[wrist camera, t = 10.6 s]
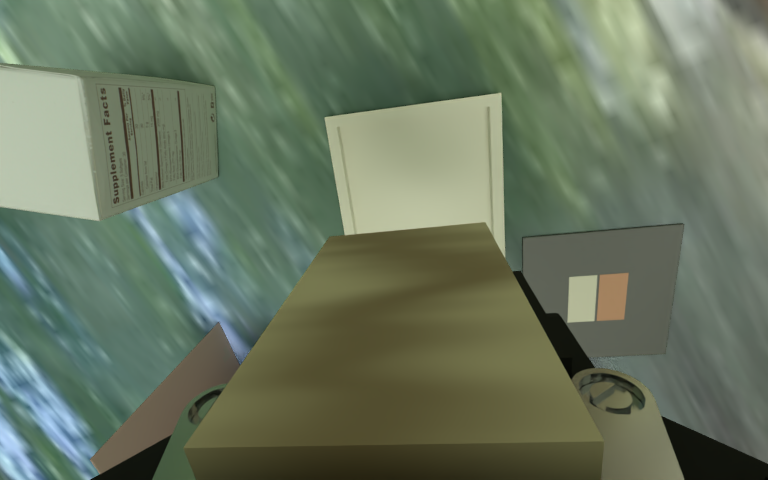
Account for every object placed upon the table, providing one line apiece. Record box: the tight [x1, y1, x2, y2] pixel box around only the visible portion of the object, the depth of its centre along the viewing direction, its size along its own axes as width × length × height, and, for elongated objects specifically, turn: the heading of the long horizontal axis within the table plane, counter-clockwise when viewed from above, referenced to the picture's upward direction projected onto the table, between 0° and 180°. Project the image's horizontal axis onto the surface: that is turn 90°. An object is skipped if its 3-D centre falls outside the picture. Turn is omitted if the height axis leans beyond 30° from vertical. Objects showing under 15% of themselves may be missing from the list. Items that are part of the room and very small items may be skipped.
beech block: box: [183, 222, 604, 480], centre depth 9 cm, size 5×5×8 cm
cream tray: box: [324, 93, 505, 257], centre depth 29 cm, size 13×13×2 cm
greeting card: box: [90, 322, 240, 474], centre depth 31 cm, size 11×7×15 cm, turn 161°
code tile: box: [522, 224, 684, 357], centre depth 31 cm, size 12×12×1 cm
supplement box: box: [0, 63, 218, 221], centre depth 24 cm, size 7×7×13 cm
